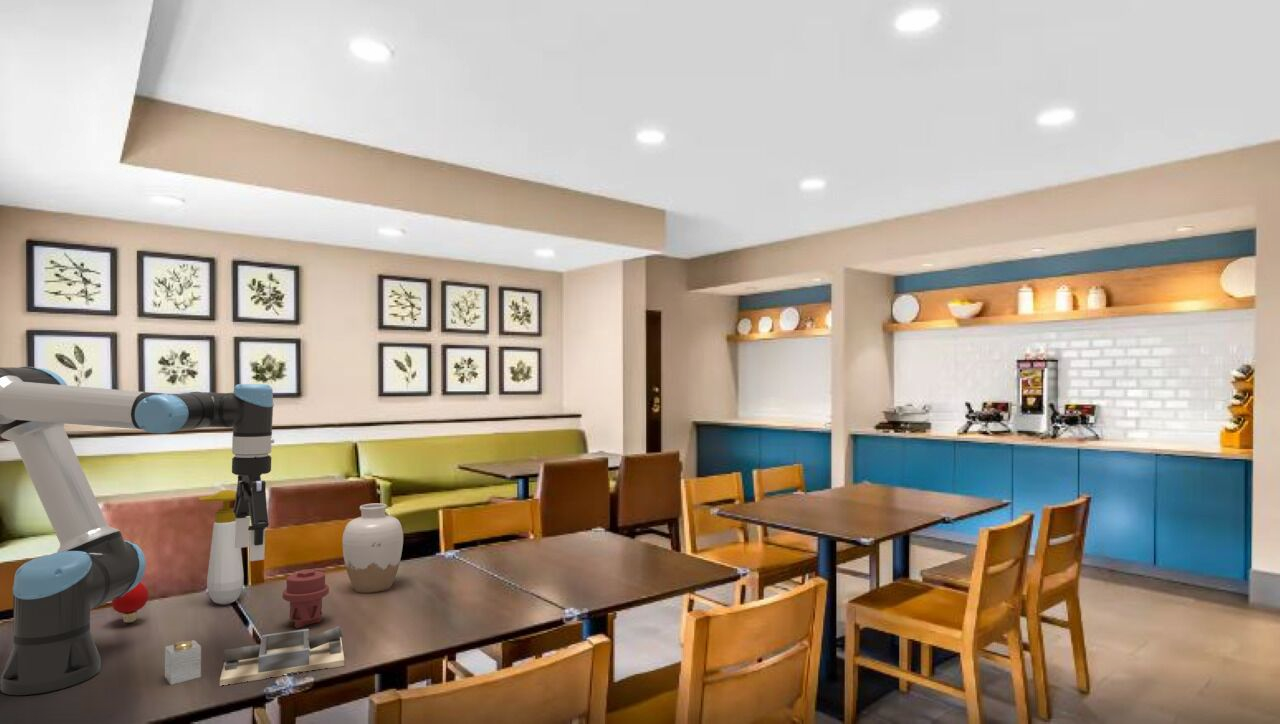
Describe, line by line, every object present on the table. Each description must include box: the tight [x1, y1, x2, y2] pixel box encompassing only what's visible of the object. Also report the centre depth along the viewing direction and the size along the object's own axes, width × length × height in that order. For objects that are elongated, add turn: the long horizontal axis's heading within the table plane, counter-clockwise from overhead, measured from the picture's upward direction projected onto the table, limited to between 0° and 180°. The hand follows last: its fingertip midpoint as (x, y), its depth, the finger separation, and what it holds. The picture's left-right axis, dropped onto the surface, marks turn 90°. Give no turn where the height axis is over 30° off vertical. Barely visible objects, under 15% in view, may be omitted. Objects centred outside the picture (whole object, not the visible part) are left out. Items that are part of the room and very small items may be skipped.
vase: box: [342, 502, 404, 594], centre depth 199 cm, size 16×16×23 cm
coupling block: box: [164, 639, 202, 686], centre depth 141 cm, size 5×5×7 cm
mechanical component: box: [282, 568, 330, 629], centre depth 171 cm, size 12×10×10 cm
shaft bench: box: [219, 625, 345, 687], centre depth 147 cm, size 22×14×6 cm, turn 115°
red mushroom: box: [111, 581, 149, 625], centre depth 171 cm, size 9×7×10 cm
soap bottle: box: [198, 489, 245, 606], centre depth 187 cm, size 13×10×29 cm
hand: (249, 553), depth 155 cm, fingers open, 13 cm apart
